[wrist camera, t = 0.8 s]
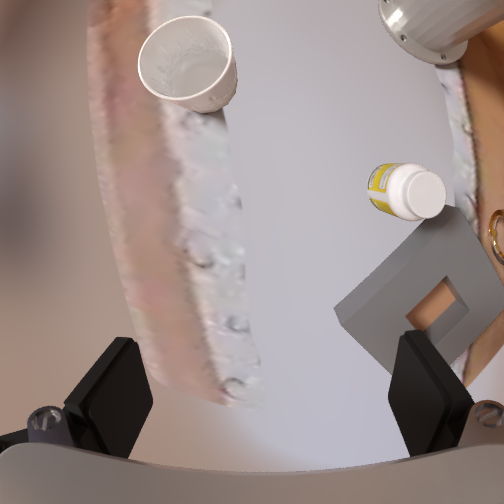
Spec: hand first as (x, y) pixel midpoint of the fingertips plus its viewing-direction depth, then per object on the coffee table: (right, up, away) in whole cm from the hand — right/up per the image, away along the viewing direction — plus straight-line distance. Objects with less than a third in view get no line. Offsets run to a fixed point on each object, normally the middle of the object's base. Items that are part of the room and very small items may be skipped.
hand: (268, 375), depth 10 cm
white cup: (-5, +22, +21) cm, 31 cm away
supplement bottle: (+14, +11, +23) cm, 29 cm away
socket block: (+21, -2, +25) cm, 33 cm away
